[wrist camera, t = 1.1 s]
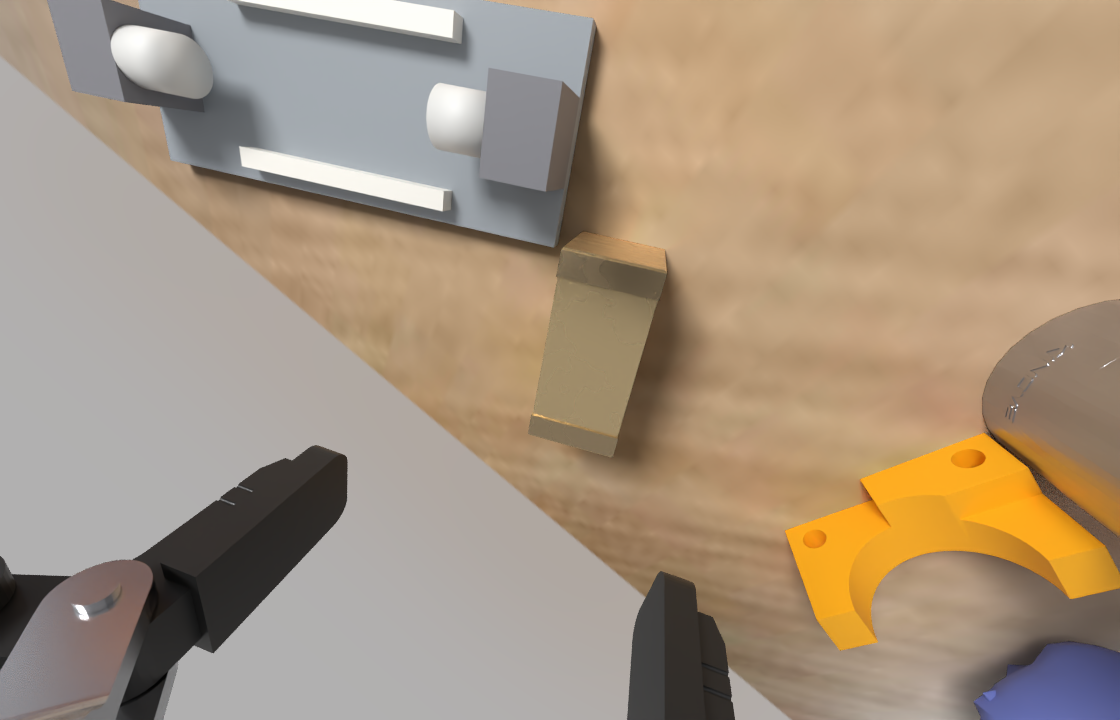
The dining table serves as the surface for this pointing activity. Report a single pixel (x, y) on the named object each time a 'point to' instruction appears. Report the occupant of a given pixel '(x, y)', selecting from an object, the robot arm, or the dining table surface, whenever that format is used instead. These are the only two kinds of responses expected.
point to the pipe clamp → (941, 533)
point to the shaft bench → (355, 97)
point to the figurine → (1058, 686)
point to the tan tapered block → (596, 339)
